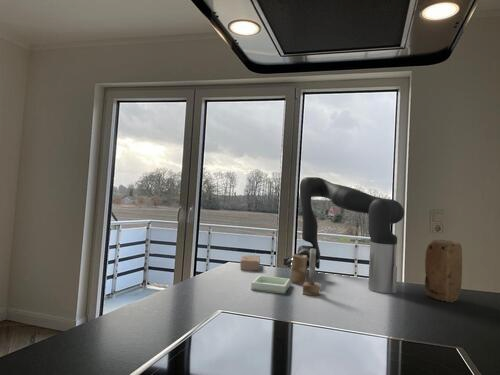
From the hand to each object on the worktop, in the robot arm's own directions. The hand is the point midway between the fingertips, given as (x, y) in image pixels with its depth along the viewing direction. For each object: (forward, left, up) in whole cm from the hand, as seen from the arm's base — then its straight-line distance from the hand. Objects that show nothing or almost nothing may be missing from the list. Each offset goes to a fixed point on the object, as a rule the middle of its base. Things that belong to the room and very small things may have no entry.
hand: (299, 265), depth 137 cm
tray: (+8, +14, -6) cm, 17 cm away
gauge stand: (-6, +15, -6) cm, 17 cm away
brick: (+24, -17, -7) cm, 30 cm away
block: (-49, +2, -6) cm, 49 cm away
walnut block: (0, +1, -6) cm, 6 cm away
